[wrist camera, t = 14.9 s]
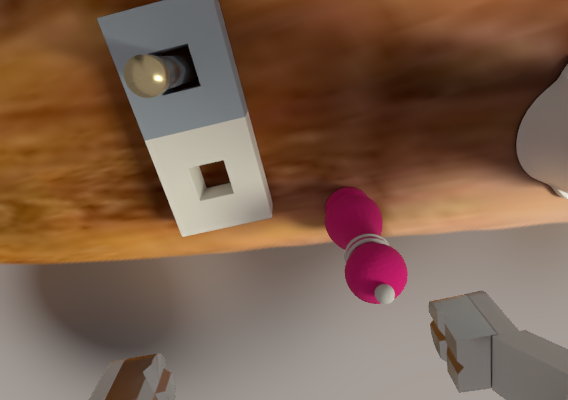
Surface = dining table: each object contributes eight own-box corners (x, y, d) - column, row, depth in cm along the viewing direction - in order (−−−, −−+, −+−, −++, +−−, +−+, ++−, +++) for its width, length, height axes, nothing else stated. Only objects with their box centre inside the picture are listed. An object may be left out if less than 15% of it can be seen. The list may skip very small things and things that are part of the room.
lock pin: (195, 50, 42) (156, 50, 29) (204, 79, 43) (171, 92, 30) (167, 57, 42) (117, 60, 29) (177, 86, 43) (133, 102, 30)
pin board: (217, -6, 39) (209, -13, 35) (272, 203, 49) (272, 217, 45) (115, 21, 40) (96, 18, 36) (190, 221, 50) (182, 236, 46)
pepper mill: (332, 237, 52) (361, 341, 33) (313, 195, 49) (334, 283, 31) (379, 219, 51) (437, 316, 32) (363, 175, 48) (416, 253, 29)
